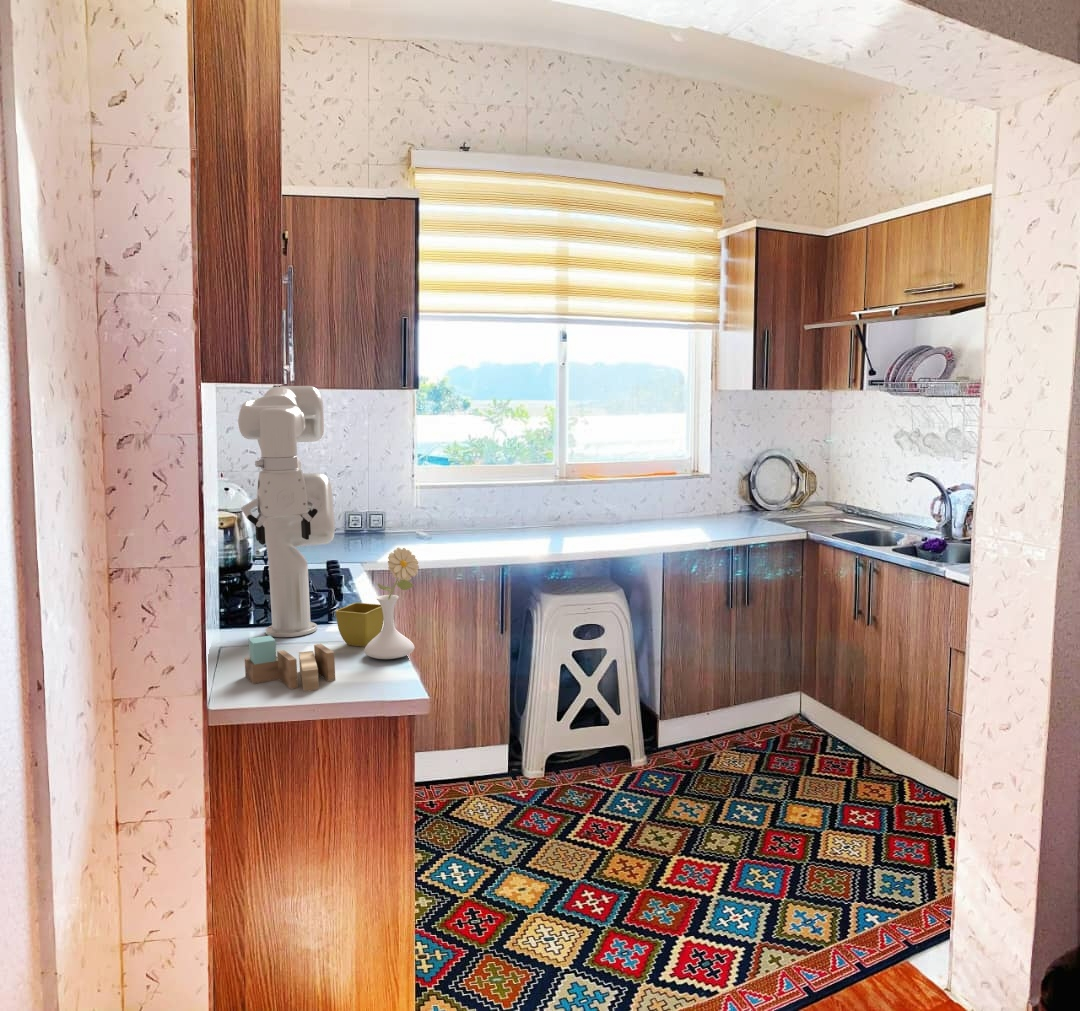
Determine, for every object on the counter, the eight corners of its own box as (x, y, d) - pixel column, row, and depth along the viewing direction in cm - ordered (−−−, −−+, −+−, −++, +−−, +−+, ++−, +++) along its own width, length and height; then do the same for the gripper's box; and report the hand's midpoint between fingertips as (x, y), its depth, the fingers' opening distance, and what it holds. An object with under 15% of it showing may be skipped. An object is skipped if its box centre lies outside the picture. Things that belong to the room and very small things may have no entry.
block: (249, 659, 182) (248, 638, 181) (271, 655, 184) (270, 635, 184) (254, 664, 178) (253, 643, 177) (276, 661, 180) (275, 640, 180)
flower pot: (367, 650, 201) (365, 613, 200) (335, 647, 205) (334, 610, 203) (387, 640, 209) (385, 604, 208) (356, 637, 213) (355, 602, 212)
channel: (278, 679, 181) (277, 651, 180) (322, 670, 186) (320, 643, 185) (290, 688, 174) (289, 660, 174) (335, 679, 180) (334, 652, 179)
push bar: (299, 672, 186) (298, 652, 185) (314, 670, 187) (313, 650, 186) (303, 692, 173) (302, 670, 172) (318, 690, 174) (317, 669, 173)
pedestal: (245, 676, 183) (244, 658, 182) (273, 671, 186) (272, 653, 186) (253, 683, 178) (252, 665, 178) (282, 678, 181) (281, 659, 181)
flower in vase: (370, 666, 189) (365, 554, 186) (360, 652, 199) (355, 546, 196) (427, 658, 194) (423, 549, 191) (415, 646, 204) (411, 542, 201)
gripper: (243, 468, 180) (248, 548, 182) (324, 463, 189) (327, 539, 192) (235, 465, 186) (239, 542, 189) (313, 460, 195) (316, 534, 198)
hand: (284, 541), depth 190 cm, fingers open, 9 cm apart
